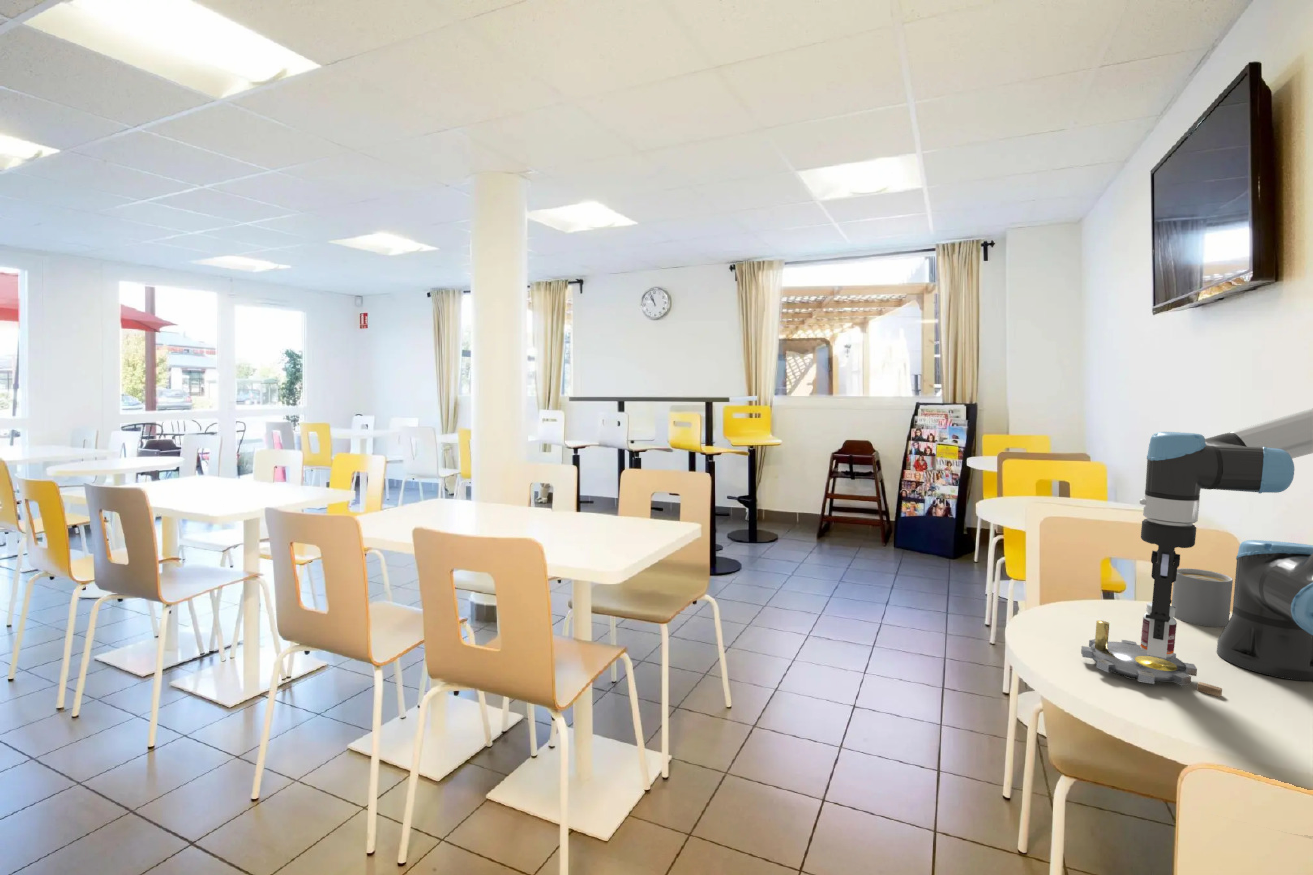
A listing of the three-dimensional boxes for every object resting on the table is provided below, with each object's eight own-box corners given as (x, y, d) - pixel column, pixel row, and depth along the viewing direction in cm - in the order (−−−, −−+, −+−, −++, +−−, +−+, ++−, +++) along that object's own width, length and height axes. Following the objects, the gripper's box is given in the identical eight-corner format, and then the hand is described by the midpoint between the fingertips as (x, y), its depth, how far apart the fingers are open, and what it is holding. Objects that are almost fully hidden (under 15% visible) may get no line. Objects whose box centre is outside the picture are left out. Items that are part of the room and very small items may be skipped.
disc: (1124, 640, 131) (1127, 609, 130) (1220, 677, 115) (1223, 642, 115) (1060, 651, 126) (1062, 618, 125) (1150, 691, 110) (1153, 654, 109)
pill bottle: (1147, 655, 116) (1151, 608, 115) (1135, 645, 121) (1139, 600, 120) (1179, 659, 115) (1183, 611, 114) (1165, 648, 120) (1169, 602, 119)
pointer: (1197, 690, 113) (1197, 683, 113) (1199, 688, 114) (1199, 681, 114) (1219, 697, 111) (1220, 690, 111) (1221, 695, 112) (1222, 688, 111)
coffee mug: (1230, 630, 141) (1234, 584, 140) (1170, 619, 147) (1174, 575, 146) (1225, 613, 151) (1230, 570, 150) (1170, 603, 157) (1174, 562, 156)
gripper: (1145, 510, 125) (1134, 630, 127) (1139, 526, 111) (1127, 661, 113) (1196, 516, 120) (1184, 641, 122) (1197, 533, 106) (1183, 673, 109)
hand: (1157, 650), depth 118 cm, fingers closed on pill bottle, 5 cm apart
